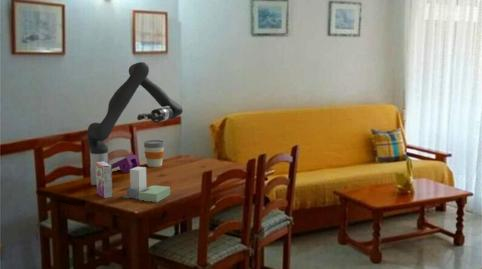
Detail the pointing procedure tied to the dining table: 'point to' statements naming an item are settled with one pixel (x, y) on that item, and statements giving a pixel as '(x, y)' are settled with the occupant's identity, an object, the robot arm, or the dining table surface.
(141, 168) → the tall white pillar block
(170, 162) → the dining table surface
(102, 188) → the candy bar box
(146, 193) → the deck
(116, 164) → the mounting bracket
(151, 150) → the reusable coffee cup
